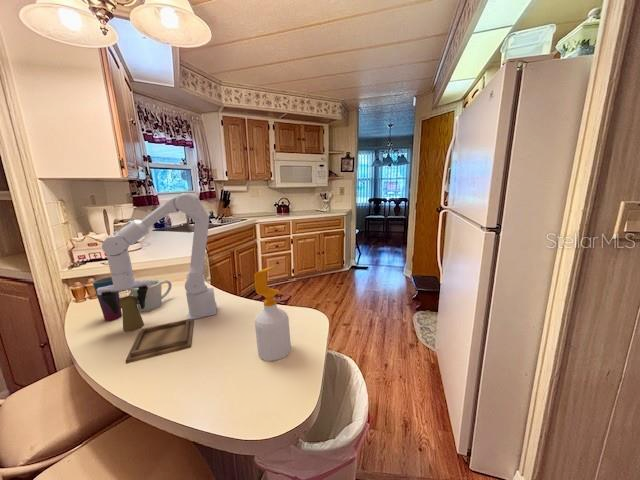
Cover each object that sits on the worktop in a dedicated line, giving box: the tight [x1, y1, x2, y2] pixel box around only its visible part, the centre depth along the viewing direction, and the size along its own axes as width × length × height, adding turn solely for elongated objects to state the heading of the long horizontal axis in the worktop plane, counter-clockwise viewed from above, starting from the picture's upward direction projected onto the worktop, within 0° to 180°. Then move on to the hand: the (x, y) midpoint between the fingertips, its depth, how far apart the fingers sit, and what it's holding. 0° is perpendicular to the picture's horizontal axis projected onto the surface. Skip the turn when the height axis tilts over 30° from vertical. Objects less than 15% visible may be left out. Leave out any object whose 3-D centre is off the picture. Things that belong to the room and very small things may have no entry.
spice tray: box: [125, 318, 195, 364], centre depth 82 cm, size 16×16×2 cm
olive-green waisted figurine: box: [119, 295, 145, 333], centre depth 89 cm, size 6×6×11 cm
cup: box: [92, 276, 123, 322], centre depth 97 cm, size 7×7×15 cm
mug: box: [130, 278, 172, 312], centre depth 106 cm, size 10×15×10 cm
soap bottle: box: [253, 265, 292, 362], centre depth 71 cm, size 9×9×25 cm
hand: (129, 310), depth 89 cm, fingers open, 7 cm apart
